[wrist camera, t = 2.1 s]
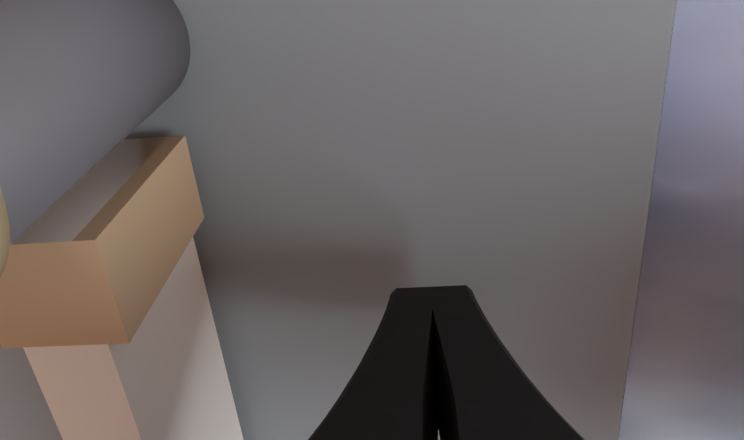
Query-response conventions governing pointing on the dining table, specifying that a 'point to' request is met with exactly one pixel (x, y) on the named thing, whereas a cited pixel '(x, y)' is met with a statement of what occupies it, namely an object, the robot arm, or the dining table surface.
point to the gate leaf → (121, 303)
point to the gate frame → (360, 175)
